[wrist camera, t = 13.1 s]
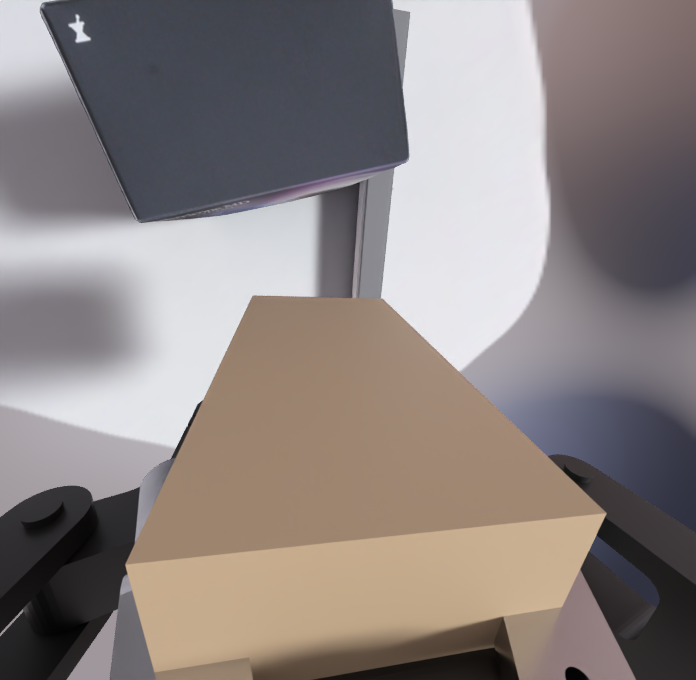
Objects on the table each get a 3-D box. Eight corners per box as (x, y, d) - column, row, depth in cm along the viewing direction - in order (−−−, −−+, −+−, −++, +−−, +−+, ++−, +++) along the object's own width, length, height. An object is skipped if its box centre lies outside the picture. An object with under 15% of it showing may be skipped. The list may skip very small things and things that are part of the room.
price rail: (368, 31, 19) (379, 6, 16) (395, 36, 19) (410, 12, 17) (345, 371, 27) (350, 387, 24) (364, 371, 27) (371, 386, 25)
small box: (204, 224, 21) (130, 233, 11) (161, 106, 18) (18, -11, 9) (361, 187, 22) (416, 167, 12) (339, 69, 19) (387, -77, 10)
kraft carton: (259, 451, 13) (204, 857, 5) (252, 295, 11) (125, 564, 3) (370, 445, 14) (484, 785, 6) (386, 298, 12) (618, 511, 3)
